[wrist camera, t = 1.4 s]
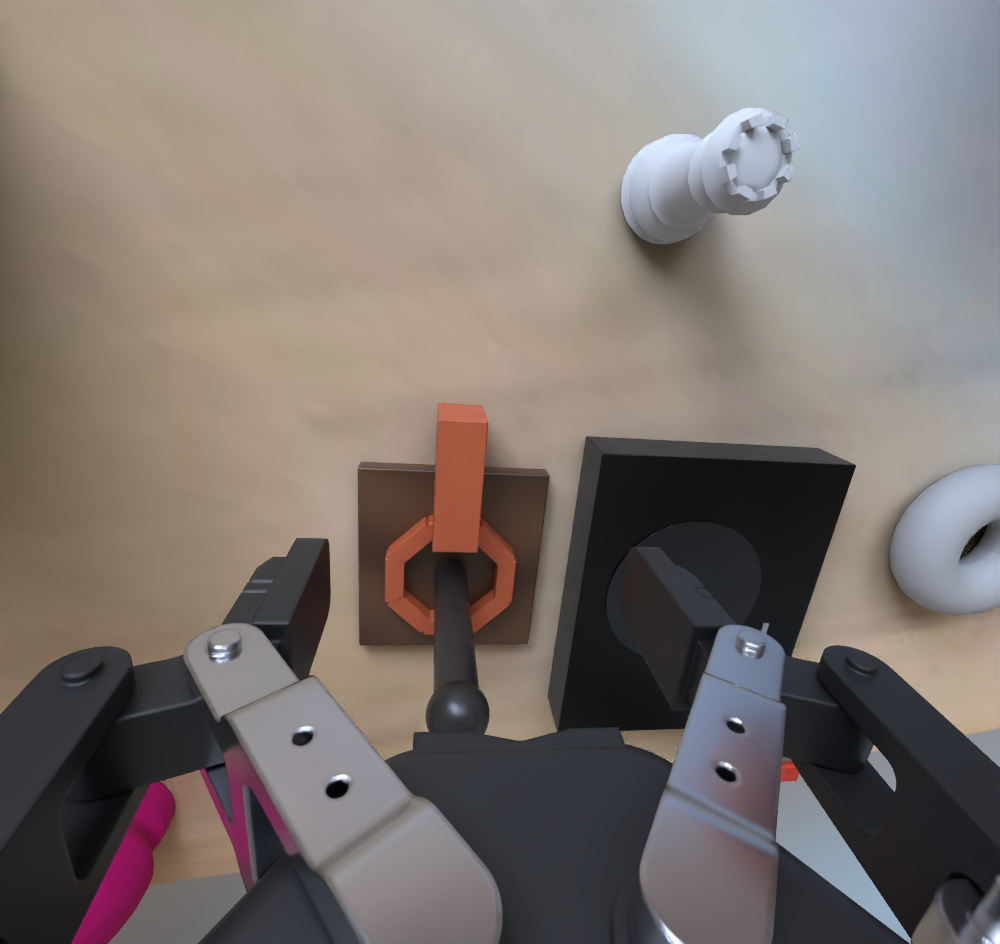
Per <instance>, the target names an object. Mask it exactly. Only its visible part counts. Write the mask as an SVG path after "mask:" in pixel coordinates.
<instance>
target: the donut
mask: <svg viewBox="0 0 1000 944" xmlns="http://www.w3.org/2000/svg"><path fill="white" fill-rule="evenodd" d="M987 524H988V525H987ZM985 525H987V528H986V531H985V534H984V536H983V537H982V539H981V540H980V542H979V543H978V545H977V546H976V547H974V548H973V549H972V550H971V551H970V552H969V553H968V554H966V555H965V556H963V557H962V558H960V556H961V554H962V551H963V549H964V547H965V546H966V544H967V543H968V541H969V540H970V538H971V537H972V536H973V535H974V534H975V533H976V532H977V531H978V530H979V529H981V528H982V527H984V526H985ZM890 568H891V570H892V572H893V574H894V577H895V579H896V581H897V583H898V585H899V587H900V589H901V590H902V591H903V592H904V593H905V594H906V595H908V596H909V597H910V598H911V599H913V600H914V601H915V602H916V603H918V604H919V605H920V606H922V607H925V608H927V609H929V610H933V611H937V612H941V613H945V614H950V615H964V614H976V613H982V612H985V611H988V610H991V609H994V608H997V607H999V606H1000V464H993V465H977V466H971V467H968V468H965V469H962V470H959V471H957V472H954V473H951V474H948V475H947V476H945V477H943V478H942V479H940V480H939V481H937V482H936V483H934V484H933V485H931V486H929V487H928V488H926V489H925V490H924V491H923V492H922V493H921V494H920V495H919V496H918V497H917V498H916V499H915V500H914V501H913V502H912V503H911V504H910V505H909V506H908V507H907V509H906V510H905V512H904V514H903V515H902V517H901V518H900V520H899V522H898V523H897V525H896V528H895V531H894V534H893V538H892V541H891V544H890Z"/></svg>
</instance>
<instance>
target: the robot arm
mask: <svg viewBox="0 0 1000 944" xmlns="http://www.w3.org/2000/svg"><path fill="white" fill-rule="evenodd" d="M330 594H331V591H330V554H329V542H328V539H320V538H297V539H296V540H295V542H294V543H293V545H292V547H291V549H290V551H289V553H288V554H287V556H286V557H272V558H271V559H269V560H268V561H266V562H265V563H263V564H262V565H260V566H259V567H257V569H256V570H255V572H254V574H253V575H252V577H251V578H250V580H249V583H247V585H246V586H245V588H244V589H243V593H241V594H240V596H239V597H238V599H237V601H236V602H235V604H234V605H233V607H232V609H231V610H230V612H229V613H228V615H227V617H226V618H225V620H224V621H223V623H222V625H220V626H216V627H213V628H211V629H208V630H206V631H204V632H202V633H200V634H199V635H197V636H195V637H194V638H193V639H192V640H191V641H190V642H189V643H188V644H187V645H186V647H185V649H184V652H183V655H181V656H178V657H175V658H171V659H167V660H162V661H157V662H152V663H147V664H142V665H137V666H133V665H132V659H131V656H130V654H129V653H128V652H127V651H125V650H124V649H121V648H118V647H108V646H104V647H94V648H88V649H84V650H80V651H77V652H74V653H71V654H69V655H67V656H64V657H62V658H60V659H58V660H56V661H54V662H53V663H51V664H49V665H48V666H47V667H45V668H44V669H43V670H41V671H40V672H39V673H38V674H37V675H36V676H35V677H34V679H33V680H32V681H31V682H30V683H29V684H28V685H27V686H26V687H25V688H24V689H23V690H22V692H21V693H20V694H19V695H18V696H17V697H16V698H15V699H14V700H13V701H12V702H11V703H10V705H9V706H8V707H7V708H6V709H5V710H4V711H3V712H2V713H1V714H0V944H71V943H72V941H73V939H74V937H75V935H76V933H77V931H78V929H79V927H80V925H81V923H82V921H83V919H84V917H85V915H86V913H87V911H88V909H89V907H90V905H91V903H92V901H93V899H94V897H95V895H96V893H97V891H98V889H99V887H100V885H101V883H102V881H103V879H104V877H105V875H106V873H107V871H108V869H109V867H110V865H111V863H112V861H113V859H114V857H115V855H116V853H117V851H118V849H119V847H120V845H121V842H122V840H123V838H124V836H125V834H126V832H127V830H128V828H129V826H130V824H131V822H132V820H133V818H134V816H135V814H136V812H137V810H138V808H139V806H140V804H141V802H142V800H143V798H144V796H145V794H146V792H147V790H148V788H149V786H150V784H152V783H155V782H159V781H162V780H165V779H169V778H172V777H176V776H179V775H183V774H186V773H190V772H193V771H196V770H200V772H201V775H202V777H203V779H204V781H205V784H206V786H207V788H208V790H209V793H210V795H211V797H212V799H213V801H214V804H215V806H216V808H217V810H218V813H219V815H220V817H221V819H222V822H223V824H224V826H225V828H226V830H227V833H228V835H229V837H230V839H231V842H232V844H233V847H234V850H235V854H236V857H237V861H238V865H239V869H240V873H241V876H242V879H243V882H244V885H245V888H246V891H247V893H246V894H245V895H244V896H243V897H242V898H241V899H240V901H238V902H237V904H236V905H235V906H234V907H233V908H232V909H231V910H230V911H229V912H228V913H227V914H226V915H225V916H224V917H223V918H222V919H221V920H220V921H219V922H218V923H217V924H216V925H215V926H214V927H213V928H212V929H211V931H210V932H209V933H208V934H207V935H206V936H205V937H204V938H203V939H202V940H201V941H200V942H199V943H198V944H909V943H908V942H907V941H905V940H904V939H903V938H901V937H900V936H899V935H897V934H896V933H895V932H894V931H892V930H891V929H890V928H888V927H887V926H886V925H884V924H883V923H882V922H880V921H879V920H878V919H876V918H875V917H874V916H873V915H871V914H870V913H868V912H867V911H866V910H865V909H863V908H862V907H861V906H859V905H858V904H857V903H855V902H854V901H853V900H851V899H850V898H849V897H848V896H846V895H845V894H844V893H842V892H841V891H840V890H838V889H837V888H836V887H834V886H833V885H832V884H831V883H829V882H828V881H827V880H825V879H824V878H822V877H821V876H820V875H819V874H817V873H816V872H815V871H814V870H812V869H811V868H810V867H808V866H807V865H806V864H804V863H803V862H802V861H800V860H799V859H798V858H796V857H795V856H794V855H793V854H791V853H790V852H788V851H787V850H786V849H785V848H783V847H782V846H780V845H779V844H778V843H777V842H776V826H777V814H778V802H779V790H780V779H781V767H782V757H786V758H790V759H791V761H792V762H793V764H794V766H795V767H796V769H797V770H798V772H799V773H800V775H801V776H802V777H803V779H804V781H805V782H806V783H807V785H808V786H809V788H810V789H811V791H812V792H813V794H814V795H815V797H816V798H817V800H818V801H819V802H820V804H821V806H822V807H823V809H824V810H825V812H826V813H827V815H828V816H829V818H830V819H831V821H832V822H833V824H834V825H835V826H836V828H837V830H838V831H839V833H840V834H841V836H842V837H843V839H844V840H845V841H846V843H847V844H848V846H849V847H850V849H851V850H852V852H853V853H854V855H855V856H856V858H857V859H858V861H859V862H860V864H861V865H862V867H863V868H864V870H865V871H866V873H867V874H868V876H869V877H870V879H871V880H872V881H873V883H874V885H875V886H876V888H877V889H878V891H879V892H880V893H881V895H882V896H883V898H884V900H885V901H886V903H887V904H888V906H889V907H890V908H891V910H892V912H893V913H894V914H895V916H896V918H897V919H898V921H899V922H900V924H901V925H902V926H903V928H904V929H905V931H906V932H907V934H908V935H909V937H910V938H911V944H1000V767H999V766H997V765H996V764H995V763H994V762H993V761H991V759H990V758H989V757H988V756H987V755H985V754H984V753H983V752H982V751H981V750H980V749H979V748H978V747H977V746H976V745H975V744H973V743H972V742H971V741H970V740H969V739H968V738H967V737H966V736H965V735H964V734H963V733H961V732H960V731H959V730H958V729H957V728H956V727H955V726H954V725H953V724H952V723H950V722H949V721H948V720H947V719H946V718H945V717H944V716H943V715H942V714H941V713H940V712H938V711H937V710H936V709H935V708H934V707H933V706H932V705H931V704H930V703H929V702H928V701H926V700H925V699H924V698H923V697H922V696H921V695H920V694H919V693H918V692H917V691H916V690H914V689H913V688H912V687H911V686H910V685H909V684H908V683H907V682H906V681H905V680H903V679H902V678H901V677H900V676H899V675H898V674H897V673H896V672H895V671H894V670H893V669H891V668H890V667H889V666H888V665H887V664H885V663H884V662H882V661H881V660H879V659H878V658H876V657H874V656H872V655H870V654H868V653H866V652H864V651H861V650H858V649H855V648H851V647H847V646H839V645H836V646H829V647H827V648H826V649H825V650H824V652H823V654H822V657H821V660H820V663H816V662H812V661H807V660H802V659H797V658H793V657H788V656H785V652H784V650H783V648H782V646H781V645H780V644H779V643H778V642H777V641H776V640H774V639H773V638H772V637H770V636H769V635H767V634H765V633H763V632H761V631H759V630H757V629H754V628H751V627H748V626H743V625H737V624H736V623H735V621H734V620H733V619H732V618H731V617H730V616H729V615H728V613H727V612H726V611H725V610H724V609H723V608H722V607H721V605H720V604H719V603H718V602H717V601H716V600H715V599H713V596H712V595H711V594H710V593H709V592H708V591H707V589H704V586H703V585H702V584H701V582H700V581H699V580H698V579H697V578H696V577H695V576H694V575H693V574H691V573H690V572H688V571H687V570H685V569H683V568H682V567H680V566H679V565H674V563H673V562H672V561H671V560H670V559H669V557H668V556H667V555H666V554H665V553H664V551H663V550H662V549H661V548H659V547H632V548H631V549H630V550H629V552H628V556H627V561H626V566H625V571H624V576H623V582H622V587H621V592H620V599H619V605H620V613H621V616H622V619H623V621H624V623H625V625H626V626H627V628H628V630H629V632H630V634H631V636H632V637H633V639H634V641H635V643H636V645H637V647H638V648H639V650H640V652H641V654H642V656H643V658H644V659H645V661H646V663H647V665H648V667H649V668H650V670H651V672H652V674H653V676H654V678H655V679H656V681H657V683H658V685H659V687H660V689H661V690H662V692H663V694H664V696H665V698H666V700H667V701H668V703H669V705H670V707H671V709H672V711H676V710H691V711H690V714H689V717H688V720H687V723H686V727H685V730H684V733H683V736H682V739H681V742H680V745H679V748H678V751H677V754H676V757H675V760H674V763H673V764H672V763H670V762H669V761H667V760H666V759H664V758H662V757H660V756H658V755H656V754H654V753H651V752H649V751H646V750H644V749H641V748H637V747H634V746H631V745H626V744H625V743H624V740H623V738H622V736H621V733H620V731H619V728H618V727H608V728H570V729H566V730H562V731H559V732H555V733H551V734H547V735H543V736H540V737H536V738H532V739H528V740H524V741H516V740H510V739H505V738H500V737H495V736H489V735H484V734H479V733H473V732H468V731H450V732H414V739H413V750H411V751H407V752H404V753H401V754H398V755H396V756H393V757H391V758H388V759H387V760H385V761H384V759H383V758H382V757H381V756H380V754H379V753H378V752H377V751H376V750H375V748H374V747H373V746H372V745H371V743H370V742H369V741H368V740H367V738H366V737H365V736H364V735H363V733H362V732H361V731H360V730H359V729H358V727H357V726H356V725H355V724H354V722H353V721H352V720H351V719H350V717H349V716H348V715H347V714H346V712H345V711H344V710H343V709H342V708H341V706H340V705H339V704H338V703H337V701H336V700H335V699H334V698H333V696H332V695H331V694H330V693H329V692H328V690H327V689H326V688H325V687H324V685H323V684H322V683H321V682H320V681H319V679H318V678H316V677H315V676H313V675H310V676H308V675H309V672H310V669H311V666H312V663H313V660H314V657H315V654H316V651H317V648H318V645H319V642H320V639H321V636H322V633H323V629H324V626H325V623H326V620H327V617H328V613H329V607H330ZM873 745H875V746H876V747H877V748H878V750H879V751H880V752H881V753H882V754H883V755H884V756H885V758H886V759H887V760H888V761H889V763H890V764H891V766H892V768H893V770H894V773H895V777H896V790H895V793H894V791H893V790H892V789H891V788H890V787H889V786H888V784H887V783H886V782H885V781H884V779H883V778H882V777H881V776H880V775H879V773H878V772H877V771H876V770H875V769H874V767H873V766H872V765H871V764H870V763H869V762H868V760H867V759H868V757H869V754H870V752H871V750H872V748H873Z"/></svg>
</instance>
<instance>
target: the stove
mask: <svg viewBox="0 0 1000 944" xmlns="http://www.w3.org/2000/svg"><path fill="white" fill-rule="evenodd" d="M855 467H856V465H855V464H852V463H850V462H848V461H846V460H843V459H841V458H839V457H837V456H834V455H832V454H830V453H828V452H825V451H823V450H821V449H819V448H806V447H786V446H766V445H746V444H727V443H707V442H687V441H667V440H647V439H628V438H608V437H588V436H587V437H586V442H585V449H584V456H583V462H582V469H581V476H580V483H579V489H578V496H577V503H576V510H575V516H574V523H573V530H572V537H571V543H570V550H569V557H568V564H567V570H566V577H565V584H564V591H563V597H562V604H561V611H560V618H559V624H558V631H557V638H556V645H555V651H554V658H553V665H552V672H551V678H550V685H549V692H548V699H549V702H550V706H551V710H552V713H553V717H554V721H555V725H556V728H557V732H559V731H562V730H566V729H570V728H608V727H618V728H619V731H630V730H661V729H685V727H686V723H687V720H688V717H689V714H690V711H691V710H676V711H672V709H671V707H670V705H669V703H668V701H667V700H666V698H665V696H664V694H663V692H662V690H661V689H660V687H659V685H658V683H657V681H656V679H655V678H654V676H653V674H652V672H651V670H650V668H649V667H648V665H647V663H646V661H645V659H644V658H643V656H642V655H640V654H638V653H635V652H633V651H632V650H630V649H629V648H627V647H626V646H625V645H624V644H623V643H621V642H620V640H619V639H618V638H617V637H616V636H615V634H614V632H613V630H612V629H611V627H610V624H609V621H608V618H607V613H606V595H607V590H608V586H609V583H610V580H611V578H612V575H613V573H614V572H615V570H616V568H617V566H618V565H619V563H620V562H621V561H622V559H623V558H624V557H625V556H626V555H627V553H628V552H629V550H630V549H631V548H632V547H635V546H636V545H637V544H638V543H639V542H641V541H642V540H643V539H645V538H646V537H648V536H649V535H651V534H653V533H655V532H657V531H659V530H661V529H663V528H666V527H668V526H672V525H675V524H679V523H684V522H690V521H706V522H714V523H718V524H722V525H724V526H727V527H729V528H731V529H733V530H735V531H737V532H738V533H739V534H741V535H742V536H743V537H744V538H745V539H746V540H747V541H748V542H749V543H750V544H751V545H752V547H753V549H754V550H755V552H756V554H757V557H758V559H759V563H760V568H761V586H760V591H759V595H758V598H757V600H756V603H755V605H754V607H753V609H752V611H751V613H750V614H749V616H748V617H747V619H746V620H745V622H744V623H743V624H742V625H743V626H748V627H751V628H754V629H757V630H759V631H761V632H763V633H765V634H767V635H769V636H770V637H772V638H773V639H774V640H776V641H777V642H778V643H779V644H780V645H781V646H782V648H783V650H784V652H785V656H788V657H791V656H792V653H793V650H794V647H795V644H796V641H797V638H798V635H799V632H800V629H801V626H802V623H803V620H804V617H805V615H806V612H807V609H808V606H809V603H810V600H811V597H812V594H813V591H814V588H815V585H816V582H817V579H818V576H819V573H820V570H821V567H822V565H823V562H824V559H825V556H826V553H827V550H828V547H829V544H830V541H831V538H832V535H833V532H834V529H835V526H836V523H837V520H838V517H839V515H840V512H841V509H842V506H843V503H844V500H845V497H846V494H847V491H848V488H849V485H850V482H851V479H852V476H853V473H854V470H855Z"/></svg>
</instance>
